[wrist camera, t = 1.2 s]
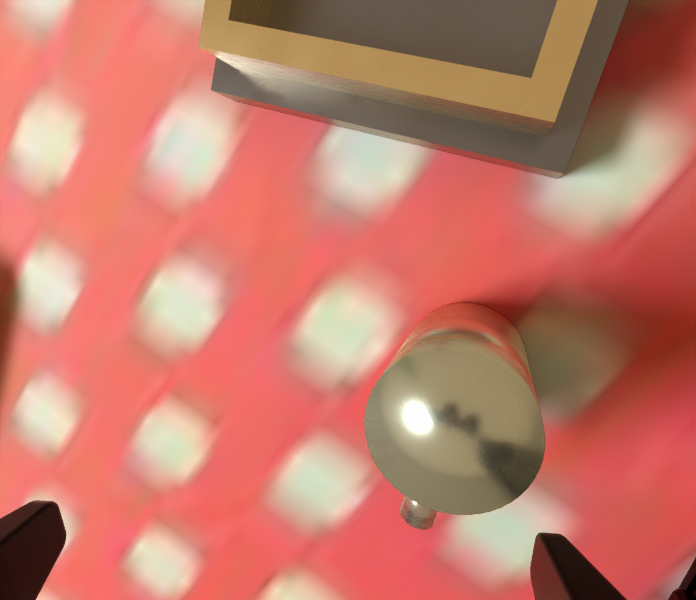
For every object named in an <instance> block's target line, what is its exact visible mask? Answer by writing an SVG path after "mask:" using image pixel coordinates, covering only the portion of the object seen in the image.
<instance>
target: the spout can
mask: <svg viewBox="0 0 696 600" xmlns="http://www.w3.org/2000/svg"><path fill="white" fill-rule="evenodd" d="M364 423H365V435H366V440H367V444H368V447H369V450H370V453H371V455H372V457H373V459H374V462H375V463H376V465H377V467H378V468H379V470H380V471H381V473H382V474H383V475H384V476H385V478H386V479H387V480H388V481H389V482H390V483H391V484H392V485H393V486H394V487H395V488H396V489H397V490H398V491H400V492H401V493H402V494H403V495H404V498H403V501H402V504H401V507H400V514H401V516H402V518H403V519H404V520H405V521H406V522H407V523H408V524H409V525H411V526H413V527H415V528H418V529H423V530H424V529H430V528H431V527H433V525H434V523H435V520H436V517H437V515H438V512H443V513H449V514H456V515H472V514H481V513H485V512H490V511H493V510H496V509H498V508H501V507H503V506H505V505H507V504H509V503H511V502H512V501H513V500H515V499H516V498H518V497H519V496H520V495H521V494H522V493H523V492H524V491H525V490H526V489H527V488H528V487H529V486H530V484H531V483H532V482H533V480H534V479H535V477H536V475H537V473H538V471H539V469H540V467H541V464H542V461H543V456H544V451H545V432H544V425H543V421H542V417H541V413H540V409H539V404H538V400H537V396H536V392H535V388H534V384H533V380H532V376H531V372H530V368H529V364H528V360H527V356H526V352H525V348H524V344H523V342H522V339H521V337H520V335H519V334H518V332H517V330H516V329H515V328H514V326H513V325H512V324H511V323H510V322H509V321H508V320H507V319H506V318H505V317H503V316H502V315H501V314H499V313H498V312H496V311H494V310H492V309H490V308H488V307H485V306H483V305H479V304H474V303H453V304H448V305H444V306H441V307H439V308H437V309H435V310H433V311H431V312H430V313H428V314H427V315H426V316H424V317H423V318H422V319H421V320H420V321H419V322H418V324H417V325H416V326H415V328H414V329H413V331H412V332H411V333H410V335H409V336H408V338H407V339H406V341H405V342H404V344H403V345H402V347H401V348H400V349H399V351H398V352H397V354H396V355H395V357H394V358H393V360H392V361H391V363H390V364H389V366H388V367H387V368H386V370H385V371H384V373H383V374H382V376H381V377H380V379H379V380H378V382H377V383H376V385H375V386H374V388H373V390H372V392H371V394H370V397H369V399H368V402H367V406H366V411H365V421H364Z"/></svg>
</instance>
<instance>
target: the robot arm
mask: <svg viewBox="0 0 696 600" xmlns="http://www.w3.org/2000/svg"><path fill="white" fill-rule="evenodd" d="M65 541H66V530H65V527H64V523H63V520H62V516H61V513H60V509H59V506H58V505H57V504H56V503H55V502H53V501H40V500H36V501H32V502H29V503H28V504H26V505H24V506H22V507H20V508H19V509H17V510H15V511H13V512H11V513H10V514H8V515H6V516H4V517H2V518H1V519H0V600H36V598H37V596H38V594H39V593H40V591H41V589H42V587H43V585H44V583H45V581H46V579H47V577H48V576H49V574H50V572H51V570H52V568H53V566H54V564H55V562H56V560H57V559H58V557H59V555H60V553H61V551H62V549H63V547H64V544H65ZM530 573H531V581H532V586H533V591H534V596H535V600H627V599H626V598H625V597H624V596H623V595H622V594H621V593H620V592H619V591H618V590H617V589H616V588H615V587H614V586H613V585H612V584H611V583H610V582H609V581H608V580H607V579H606V578H605V577H604V576H603V575H602V574H601V573H600V572H599V571H598V570H597V569H596V568H595V567H594V566H593V565H592V564H591V563H590V562H589V561H588V560H587V559H586V558H585V557H584V556H583V555H582V554H581V553H580V552H579V551H578V550H577V549H576V548H575V547H574V546H573V545H572V544H571V543H570V542H569V540H568V539H567V538H565V537H564V536H563V535H561V534H555V533H539V534H537V536H536V539H535V544H534V550H533V555H532V561H531V567H530ZM668 600H696V558H695V560H694V562H693V564H692V565H691V567H690V569H689V571H688V572H687V574H686V576H685V578H684V579H683V581H682V583H681V585H680V586H679V588H678V589H676V590H675V591H673V592H672V594H671V596H670V598H669V599H668Z"/></svg>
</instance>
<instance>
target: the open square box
mask: <svg viewBox="0 0 696 600" xmlns="http://www.w3.org/2000/svg"><path fill="white" fill-rule="evenodd" d="M628 2H629V0H205V6H204V13H203V19H202V26H201V33H200V39H199V46H198V47H199V48H201V49H203V50H205V51H206V52H208V53H210V54H212V55H213V56H215V57H216V63H215V69H214V75H213V81H212V87H211V90H212V91H214V92H216V93H218V94H221V95H223V96H225V97H227V98H230V99H232V100H234V101H236V102H240V103H244V104H248V105H252V106H257V107H261V108H265V109H269V110H273V111H277V112H282V113H286V114H290V115H294V116H298V117H302V118H307V119H311V120H315V121H319V122H323V123H327V124H332V125H336V126H340V127H344V128H348V129H352V130H357V131H361V132H365V133H369V134H373V135H377V136H382V137H386V138H390V139H394V140H398V141H402V142H406V143H411V144H415V145H419V146H423V147H427V148H431V149H436V150H440V151H444V152H448V153H452V154H456V155H461V156H465V157H469V158H473V159H477V160H481V161H486V162H490V163H494V164H498V165H502V166H506V167H511V168H515V169H519V170H523V171H527V172H531V173H536V174H540V175H544V176H548V177H552V178H556V179H557V178H559V177H560V176H562V175H564V174H565V172H566V169H567V166H568V164H569V161H570V158H571V156H572V153H573V150H574V148H575V145H576V142H577V139H578V137H579V134H580V131H581V129H582V126H583V123H584V121H585V118H586V115H587V112H588V110H589V107H590V104H591V102H592V99H593V96H594V94H595V91H596V88H597V85H598V83H599V80H600V77H601V75H602V72H603V69H604V67H605V64H606V61H607V59H608V56H609V53H610V50H611V48H612V45H613V42H614V40H615V37H616V34H617V32H618V29H619V26H620V23H621V21H622V18H623V15H624V13H625V10H626V7H627V5H628Z"/></svg>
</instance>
